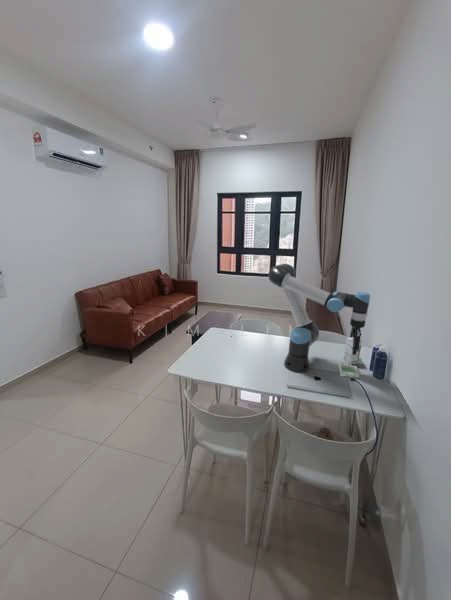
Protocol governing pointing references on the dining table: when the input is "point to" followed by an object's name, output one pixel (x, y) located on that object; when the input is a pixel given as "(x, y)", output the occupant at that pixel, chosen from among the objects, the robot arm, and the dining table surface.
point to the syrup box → (348, 350)
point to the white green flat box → (348, 370)
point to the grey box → (358, 364)
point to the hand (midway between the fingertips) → (351, 355)
